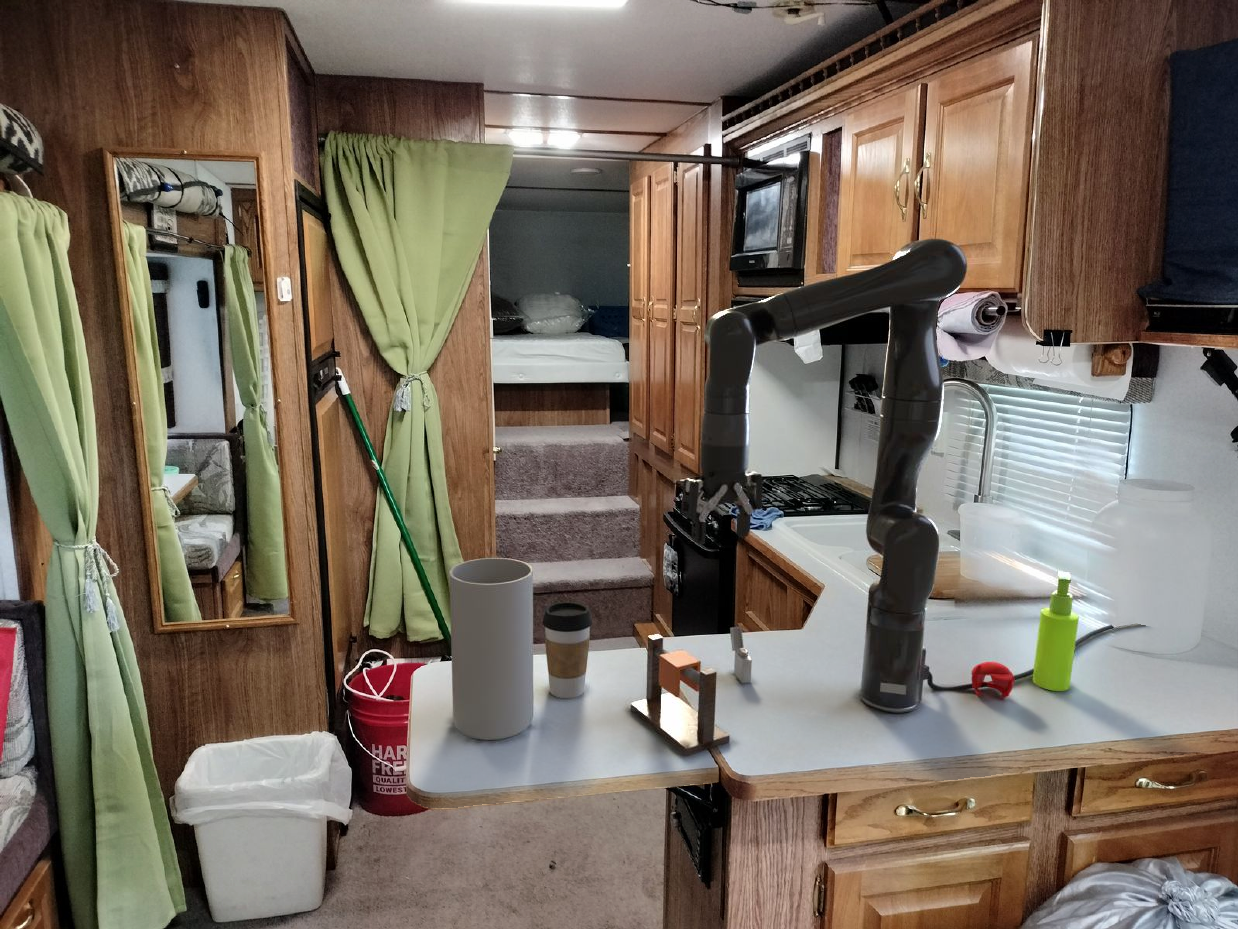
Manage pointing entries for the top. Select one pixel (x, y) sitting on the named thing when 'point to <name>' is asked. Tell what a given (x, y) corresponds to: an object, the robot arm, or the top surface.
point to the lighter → (740, 656)
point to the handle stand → (680, 707)
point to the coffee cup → (567, 647)
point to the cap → (993, 677)
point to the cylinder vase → (492, 647)
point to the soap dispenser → (1056, 639)
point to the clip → (677, 671)
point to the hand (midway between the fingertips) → (721, 539)
